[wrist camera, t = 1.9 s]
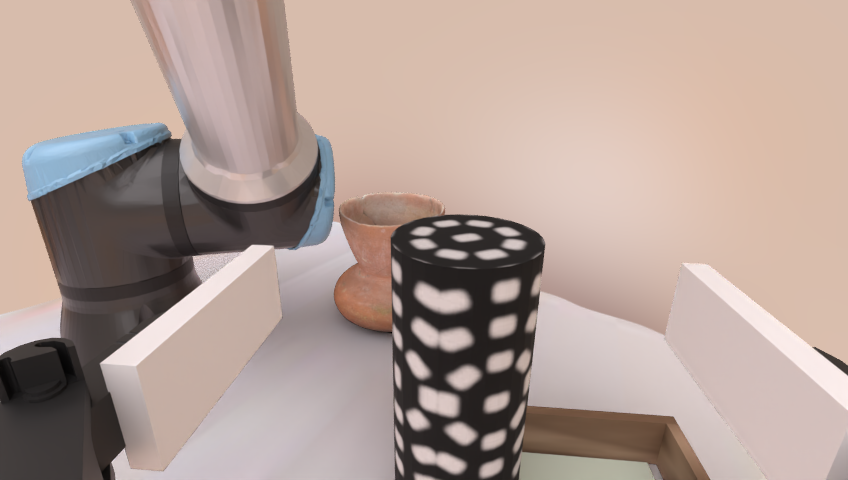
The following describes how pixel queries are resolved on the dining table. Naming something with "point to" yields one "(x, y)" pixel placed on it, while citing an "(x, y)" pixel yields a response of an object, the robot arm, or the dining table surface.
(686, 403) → the dining table surface
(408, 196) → the ceramic jug
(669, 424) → the tray
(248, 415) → the dining table surface
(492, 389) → the white-spotted black cylinder
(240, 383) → the dining table surface
